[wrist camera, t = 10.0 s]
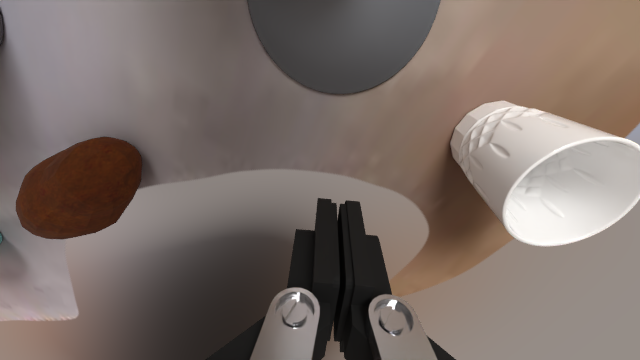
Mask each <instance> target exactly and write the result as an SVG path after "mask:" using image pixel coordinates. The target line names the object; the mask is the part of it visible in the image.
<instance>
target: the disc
mask: <svg viewBox="0 0 640 360" xmlns="http://www.w3.org/2000/svg"><path fill="white" fill-rule="evenodd" d="M247 1H248V5H249V10H250V15H251V18H252V21H253V24H254V27H255V30H256V32H257V34H258V36H259V39H260V41H261V42H262V44H263V46H264V48H265V49H266V51H267V53H268V54H269V55H270V57H271V58H272V59H273V60H274V62H275V63H276V64H277V65H278V66H279V67H280V68H281V69H282V70H283V71H284V72H285V73H286V74H288V75H289V76H290V77H291V78H293V79H294V80H296V81H297V82H299V83H301V84H303V85H305V86H307V87H309V88H311V89H314V90H318V91H321V92H326V93H332V94H347V93H355V92H359V91H363V90H367V89H369V88H372V87H374V86H377V85H379V84H380V83H382V82H384V81H386V80H387V79H389V78H390V77H392V76H393V75H395V74H396V73H397V72H398V71H399V70H400V69H402V68H403V67H404V66H405V65H406V64H407V63H408V62H409V61H410V59H411V58H412V57H413V56H414V55H415V53H416V52H417V51H418V49H419V48H420V47H421V45H422V44H423V42H424V40H425V38H426V37H427V35H428V33H429V31H430V29H431V26H432V24H433V22H434V20H435V17H436V14H437V11H438V7H439V4H440V0H247Z"/></svg>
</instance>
